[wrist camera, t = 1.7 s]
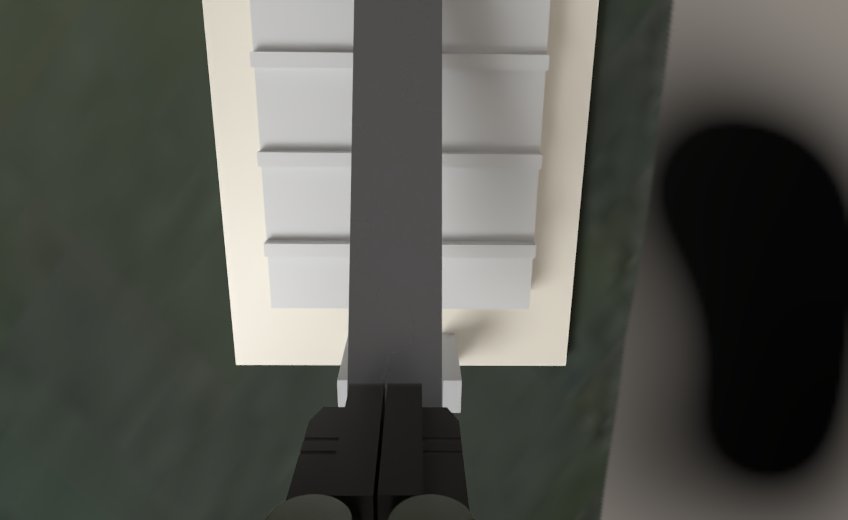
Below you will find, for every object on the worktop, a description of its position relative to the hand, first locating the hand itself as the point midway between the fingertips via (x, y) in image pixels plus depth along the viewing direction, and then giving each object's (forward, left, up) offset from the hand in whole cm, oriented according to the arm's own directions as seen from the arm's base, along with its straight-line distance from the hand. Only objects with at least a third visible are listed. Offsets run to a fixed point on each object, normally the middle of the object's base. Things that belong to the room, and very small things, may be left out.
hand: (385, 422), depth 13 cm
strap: (-4, 0, -11) cm, 11 cm away
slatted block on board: (-3, 0, -19) cm, 19 cm away
